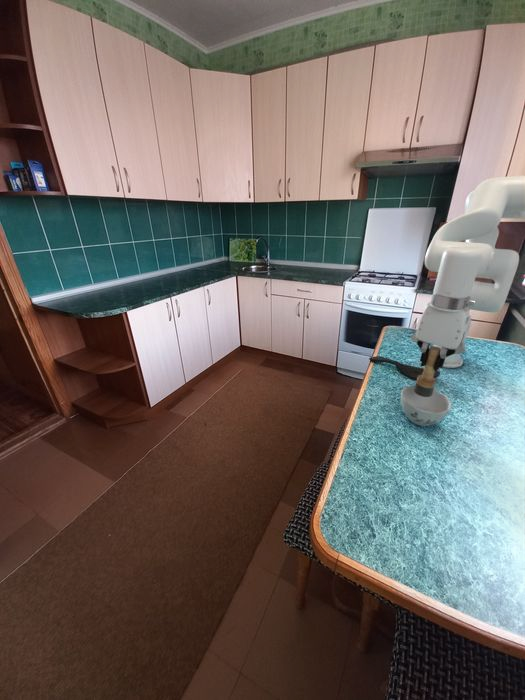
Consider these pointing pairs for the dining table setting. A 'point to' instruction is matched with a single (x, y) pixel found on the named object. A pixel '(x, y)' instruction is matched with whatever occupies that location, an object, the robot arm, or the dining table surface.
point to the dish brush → (427, 374)
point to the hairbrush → (404, 367)
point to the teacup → (424, 406)
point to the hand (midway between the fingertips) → (430, 366)
